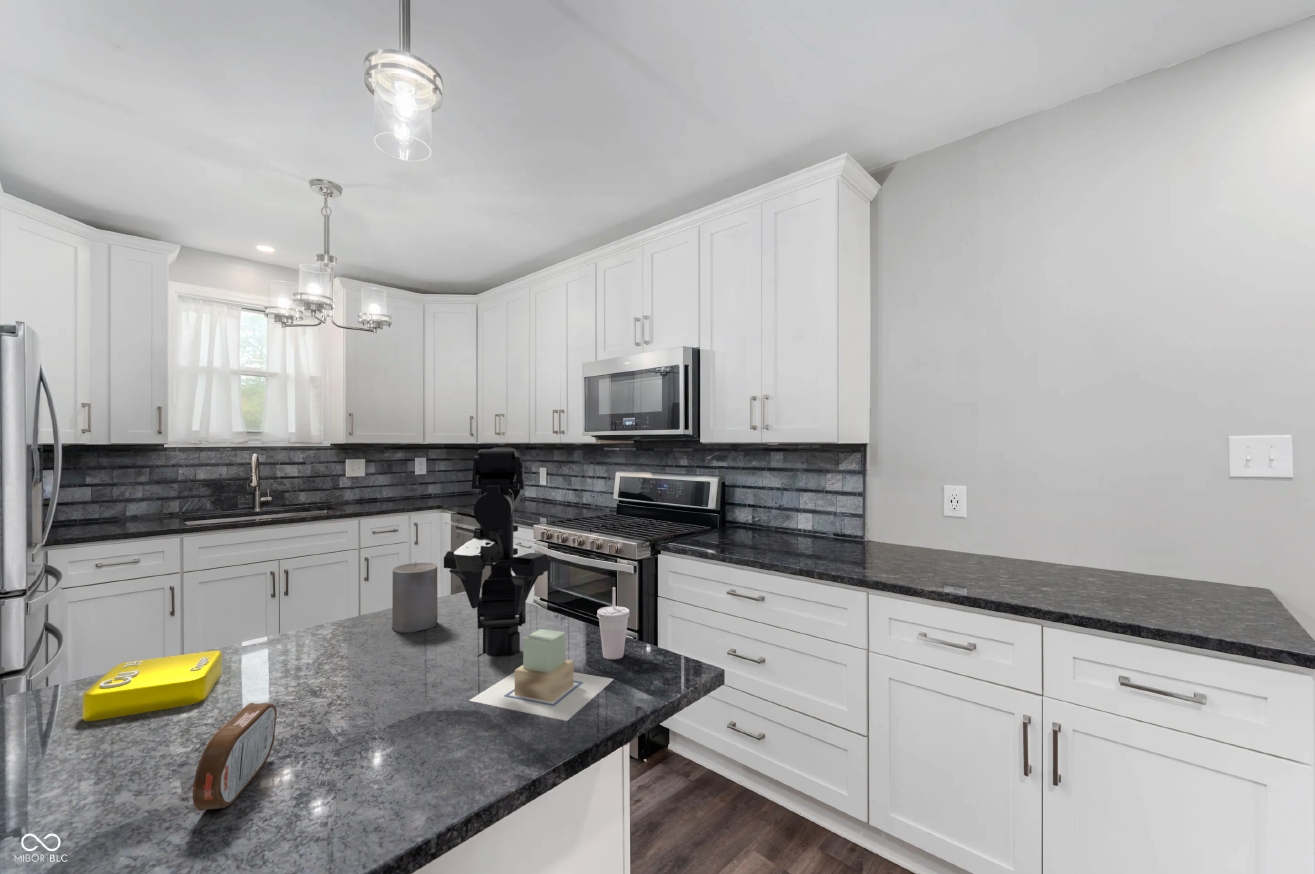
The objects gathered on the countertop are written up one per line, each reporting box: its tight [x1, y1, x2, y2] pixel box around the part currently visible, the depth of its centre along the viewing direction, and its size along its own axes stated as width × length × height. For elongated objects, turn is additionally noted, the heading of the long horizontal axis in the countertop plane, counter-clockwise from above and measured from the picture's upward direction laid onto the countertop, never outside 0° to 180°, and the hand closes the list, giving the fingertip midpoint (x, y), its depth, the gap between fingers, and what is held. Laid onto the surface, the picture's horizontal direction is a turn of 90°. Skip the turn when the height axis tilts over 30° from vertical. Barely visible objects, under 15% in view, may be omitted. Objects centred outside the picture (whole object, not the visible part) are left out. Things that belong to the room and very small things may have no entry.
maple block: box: [514, 658, 575, 702], centre depth 93 cm, size 7×7×4 cm
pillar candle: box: [391, 561, 439, 634], centre depth 129 cm, size 10×10×15 cm
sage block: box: [522, 628, 566, 673], centre depth 93 cm, size 5×5×5 cm
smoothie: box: [596, 586, 631, 660], centre depth 109 cm, size 6×6×14 cm
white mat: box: [468, 671, 614, 722], centre depth 93 cm, size 18×16×1 cm
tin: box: [192, 702, 278, 812], centre depth 68 cm, size 15×3×8 cm, turn 13°
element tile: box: [81, 650, 223, 722], centre depth 94 cm, size 15×15×5 cm
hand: (496, 610), depth 97 cm, fingers open, 9 cm apart
